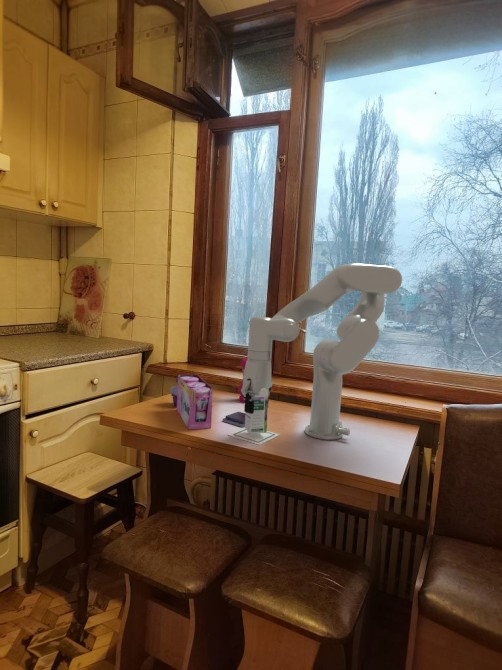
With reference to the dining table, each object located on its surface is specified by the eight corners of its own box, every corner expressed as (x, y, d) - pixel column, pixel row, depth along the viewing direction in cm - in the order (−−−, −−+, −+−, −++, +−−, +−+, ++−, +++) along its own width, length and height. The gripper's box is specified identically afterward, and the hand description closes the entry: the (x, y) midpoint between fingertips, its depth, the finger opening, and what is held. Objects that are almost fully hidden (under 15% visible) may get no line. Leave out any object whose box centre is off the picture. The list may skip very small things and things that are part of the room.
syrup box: (249, 434, 128) (251, 389, 126) (244, 428, 133) (246, 384, 132) (266, 433, 129) (268, 388, 128) (260, 427, 135) (262, 384, 133)
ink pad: (257, 421, 146) (258, 416, 145) (243, 427, 138) (243, 421, 138) (237, 416, 151) (238, 410, 150) (222, 421, 143) (222, 415, 143)
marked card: (279, 435, 133) (279, 434, 133) (259, 445, 123) (259, 444, 123) (249, 426, 140) (249, 425, 140) (228, 435, 130) (228, 434, 130)
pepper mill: (254, 403, 169) (257, 356, 166) (237, 402, 169) (240, 355, 167) (255, 399, 176) (257, 353, 174) (238, 398, 176) (241, 352, 174)
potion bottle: (175, 401, 165) (177, 372, 164) (195, 404, 162) (196, 374, 161) (165, 406, 157) (166, 376, 156) (185, 409, 154) (186, 378, 153)
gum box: (212, 430, 134) (215, 389, 133) (189, 431, 131) (191, 390, 130) (196, 409, 156) (198, 374, 155) (175, 410, 154) (177, 374, 152)
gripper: (264, 351, 138) (261, 402, 140) (233, 356, 124) (230, 413, 125) (283, 354, 134) (280, 407, 136) (253, 360, 119) (250, 418, 121)
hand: (256, 409), depth 130 cm, fingers closed on syrup box, 7 cm apart
